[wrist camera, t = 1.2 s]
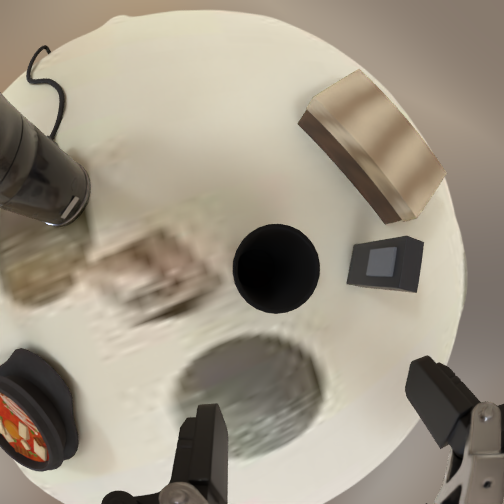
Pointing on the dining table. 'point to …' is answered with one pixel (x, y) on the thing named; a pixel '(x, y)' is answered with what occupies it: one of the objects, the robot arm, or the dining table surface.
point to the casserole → (35, 413)
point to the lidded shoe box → (374, 147)
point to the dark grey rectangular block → (387, 264)
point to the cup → (276, 268)
